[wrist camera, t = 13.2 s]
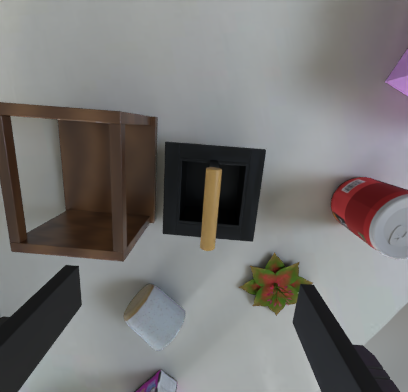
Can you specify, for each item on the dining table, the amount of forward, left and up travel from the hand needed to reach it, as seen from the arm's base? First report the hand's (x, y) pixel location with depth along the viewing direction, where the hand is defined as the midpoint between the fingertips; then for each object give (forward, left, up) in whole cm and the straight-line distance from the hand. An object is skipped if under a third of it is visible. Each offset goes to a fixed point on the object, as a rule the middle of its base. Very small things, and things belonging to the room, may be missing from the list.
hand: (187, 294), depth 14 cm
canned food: (+23, 0, -25) cm, 35 cm away
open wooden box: (-15, +2, -25) cm, 29 cm away
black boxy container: (+1, +1, -25) cm, 25 cm away
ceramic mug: (-8, -23, -25) cm, 35 cm away
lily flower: (+13, -16, -25) cm, 33 cm away
